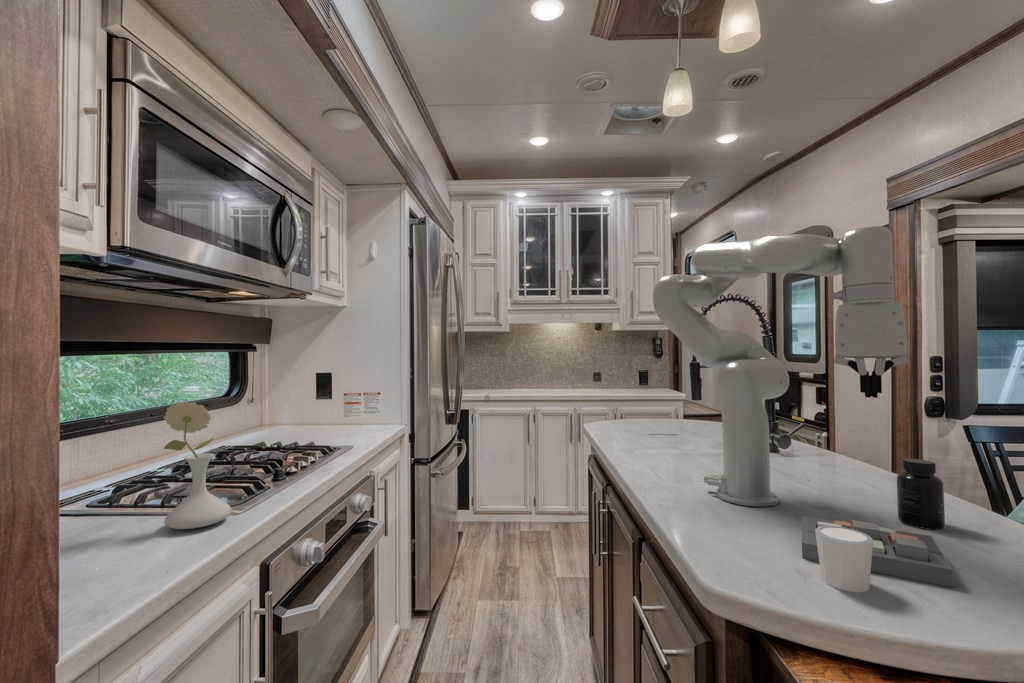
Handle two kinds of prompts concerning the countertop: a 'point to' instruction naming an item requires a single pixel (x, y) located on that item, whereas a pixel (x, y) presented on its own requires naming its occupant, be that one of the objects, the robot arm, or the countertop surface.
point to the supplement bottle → (920, 495)
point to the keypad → (890, 552)
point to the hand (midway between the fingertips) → (871, 396)
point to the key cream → (829, 524)
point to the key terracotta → (899, 536)
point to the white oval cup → (844, 557)
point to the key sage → (878, 547)
